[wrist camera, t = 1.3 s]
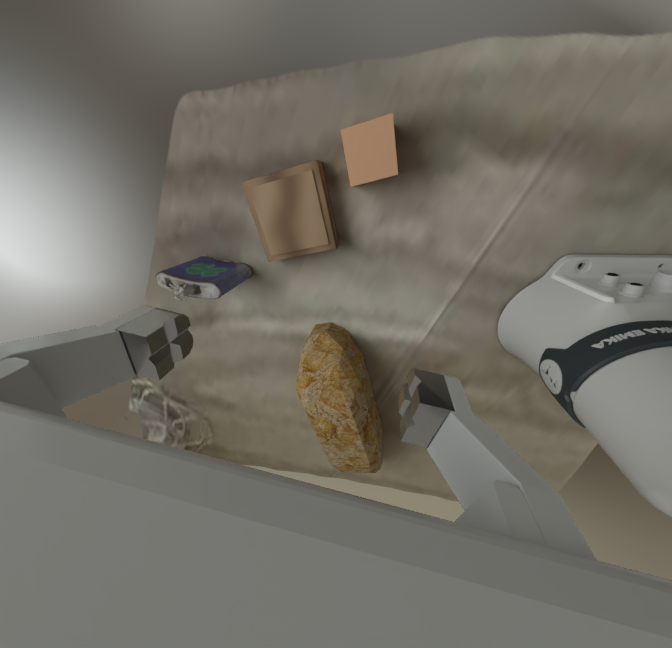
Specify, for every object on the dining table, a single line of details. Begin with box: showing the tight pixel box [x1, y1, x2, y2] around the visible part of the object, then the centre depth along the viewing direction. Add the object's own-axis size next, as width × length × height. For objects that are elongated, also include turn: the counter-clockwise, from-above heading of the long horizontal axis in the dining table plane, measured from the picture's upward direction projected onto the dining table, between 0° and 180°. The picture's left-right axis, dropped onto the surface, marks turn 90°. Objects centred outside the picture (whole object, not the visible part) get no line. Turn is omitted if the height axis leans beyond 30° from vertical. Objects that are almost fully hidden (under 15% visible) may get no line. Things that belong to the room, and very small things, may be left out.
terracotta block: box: [341, 113, 398, 187], centre depth 26 cm, size 5×5×5 cm
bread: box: [296, 322, 383, 473], centre depth 45 cm, size 36×11×10 cm, turn 16°
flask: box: [156, 256, 252, 301], centre depth 34 cm, size 9×3×11 cm, turn 82°
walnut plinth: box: [241, 160, 339, 262], centre depth 32 cm, size 10×10×3 cm
